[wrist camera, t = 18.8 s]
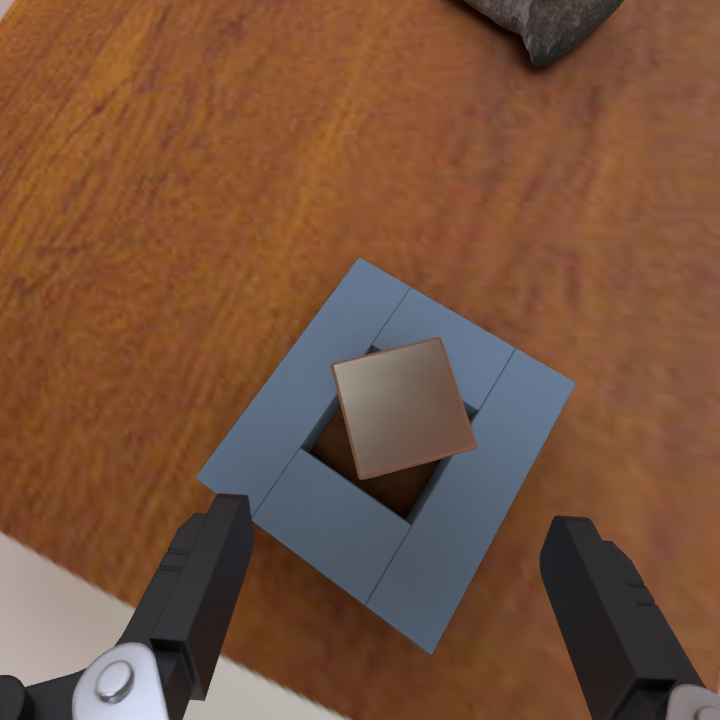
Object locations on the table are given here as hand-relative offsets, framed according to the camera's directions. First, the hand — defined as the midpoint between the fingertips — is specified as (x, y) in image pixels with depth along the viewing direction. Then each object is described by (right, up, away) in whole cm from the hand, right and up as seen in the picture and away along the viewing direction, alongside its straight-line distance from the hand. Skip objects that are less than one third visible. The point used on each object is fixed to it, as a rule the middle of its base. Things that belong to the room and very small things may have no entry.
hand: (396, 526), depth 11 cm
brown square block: (0, +1, +10) cm, 10 cm away
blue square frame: (0, +1, +10) cm, 10 cm away
